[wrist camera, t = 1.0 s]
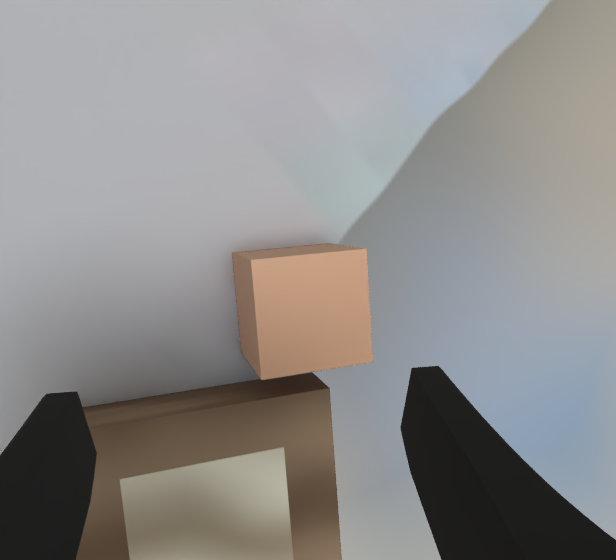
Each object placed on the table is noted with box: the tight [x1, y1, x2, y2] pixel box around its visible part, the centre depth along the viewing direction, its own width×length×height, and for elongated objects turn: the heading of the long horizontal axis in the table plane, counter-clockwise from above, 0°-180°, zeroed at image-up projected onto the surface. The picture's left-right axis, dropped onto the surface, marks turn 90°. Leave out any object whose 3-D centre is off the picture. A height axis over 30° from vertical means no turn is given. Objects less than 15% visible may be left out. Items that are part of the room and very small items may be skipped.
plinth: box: [76, 372, 342, 560], centre depth 26 cm, size 12×12×3 cm
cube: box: [232, 244, 373, 380], centre depth 26 cm, size 5×5×5 cm
